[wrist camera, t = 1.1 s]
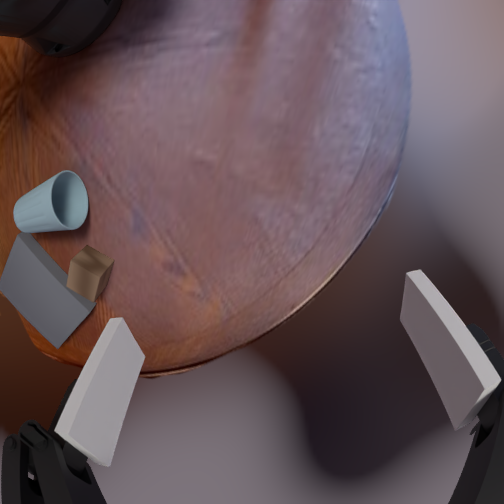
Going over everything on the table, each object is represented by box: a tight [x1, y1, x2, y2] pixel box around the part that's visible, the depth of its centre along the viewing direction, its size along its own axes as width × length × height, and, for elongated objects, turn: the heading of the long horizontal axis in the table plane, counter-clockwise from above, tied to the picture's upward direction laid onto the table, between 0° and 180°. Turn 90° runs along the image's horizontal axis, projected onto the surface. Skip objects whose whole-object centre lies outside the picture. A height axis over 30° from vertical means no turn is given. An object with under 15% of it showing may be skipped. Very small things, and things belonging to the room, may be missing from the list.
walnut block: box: [66, 245, 114, 303], centre depth 37 cm, size 5×5×5 cm
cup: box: [14, 170, 88, 233], centre depth 31 cm, size 8×8×10 cm
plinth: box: [0, 232, 96, 349], centre depth 40 cm, size 18×17×2 cm
